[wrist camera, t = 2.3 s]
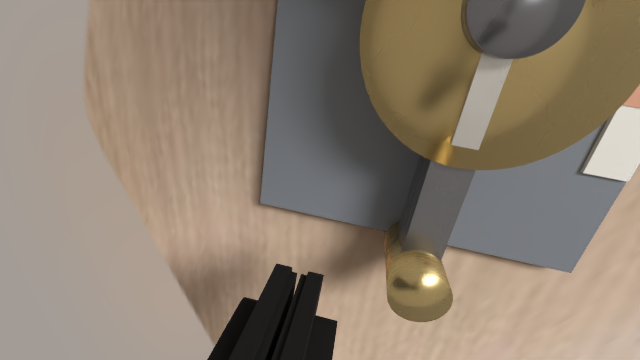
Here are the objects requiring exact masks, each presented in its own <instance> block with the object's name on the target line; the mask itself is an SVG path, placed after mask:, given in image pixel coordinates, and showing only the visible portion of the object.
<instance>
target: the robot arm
mask: <svg viewBox="0 0 640 360" xmlns="http://www.w3.org/2000/svg"><path fill="white" fill-rule="evenodd" d="M323 276H324V275H321V274H317V273H313V272H308V274H307V275H303V274H301V277H300V279H299V282H298V285H297V288H296V291H295V294H294V290H295V284H296V277H297V273H295V272H292V267H289V266H284V265H280V264H276V266H275V267H274V270H273V272H272V274H271V276H270V278H269V280H268V282H267V284H266V286H265V288H264V290H263V292H262V294H261V296H260V298H259V300H258V301H257V300H254V299H250V298H246V297H244V298H243V299H242V300H241V302H240V303H239V305H238V307H237V309H236V310H235V312H234V314H233V316H232V317H231V319H230V321H229V323H228V324H227V326H226V328H225V330H224V331H223V333H222V335H221V337H220V338H219V340H218V342H217V344H216V345H215V347H214V349H213V351H212V353H211V354H210V356H209V358H208V359H207V360H332V356H333V349H334V342H335V335H336V328H337V321H335V320H331V319H327V318H323V317H320V316H316V311H317V306H318V301H319V296H320V291H321V286H322V281H323ZM293 296H294V297H293Z"/></svg>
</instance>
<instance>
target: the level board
mask: <svg viewBox="0 0 640 360" xmlns="http://www.w3.org/2000/svg"><path fill="white" fill-rule="evenodd" d="M365 2H366V0H278V4H277V15H276V26H275V38H274V49H273V61H272V72H271V84H270V95H269V107H268V118H267V130H266V141H265V153H264V164H263V176H262V187H261V199H260V203H261V204H266V205H270V206H275V207H279V208H284V209H288V210H293V211H297V212H301V213H306V214H310V215H315V216H319V217H324V218H328V219H333V220H337V221H342V222H346V223H351V224H355V225H359V226H364V227H368V228H373V229H377V230H382V231H386V232H387V230H388V229H389V227H390V226H392V225H393V224H394V223H396V222H398V221H400V220H401V217H402V214H403V210H404V207H405V204H406V200H407V197H408V194H409V191H410V187H411V184H412V181H413V177H414V174H415V171H416V167H417V164H418V161H419V157H420V154H418V153H416V152H414V151H413V150H411V149H410V148H409V147H407V146H406V145H405V144H403V143H402V142H401V141H399V140H398V139H397V137H396V136H395V135H394V134H393V133H392V132H391V131H390V130H389V129H388V128H387V127H386V125H385V124H384V123H383V121H382V120H381V119H380V117H379V115H378V114H377V112H376V110H375V108H374V106H373V105H372V103H371V100H370V97H369V95H368V92H367V90H366V87H365V83H364V79H363V75H362V69H361V61H360V30H361V22H362V15H363V11H364V6H365ZM639 164H640V85H639V86H638V87H637V88H636V90H635V91H634V92H633V94H632V95H631V96H630V97H629V99H628V100H627V101H626V102H625V103H624V104H623V105H622V106H621V107H620V108H619V109H618V110H617V111H616V112H615V113H614V114H613V115H612V116H611V117H610V118H609V119H607V120H606V121H605V122H604V123H603V124H602V125H600V126H599V127H598V128H597V129H596V130H594V131H593V132H591V133H590V134H588V135H587V136H585V137H584V138H583V139H581V140H580V141H578V142H576V143H575V144H573V145H571V146H569V147H567V148H566V149H564V150H562V151H560V152H558V153H556V154H553V155H551V156H549V157H546V158H544V159H541V160H538V161H535V162H532V163H529V164H526V165H522V166H517V167H512V168H507V169H497V170H476V171H475V174H474V176H473V179H472V181H471V184H470V187H469V189H468V192H467V194H466V197H465V199H464V202H463V205H462V207H461V210H460V212H459V215H458V218H457V220H456V223H455V225H454V228H453V231H452V233H451V236H450V238H449V241H448V243H447V245H449V246H453V247H458V248H462V249H466V250H471V251H475V252H480V253H484V254H489V255H493V256H498V257H502V258H507V259H511V260H516V261H520V262H524V263H529V264H533V265H538V266H542V267H547V268H551V269H556V270H560V271H565V272H569V273H571V272H572V270H573V269H574V267H575V266H576V264H577V262H578V261H579V259H580V257H581V256H582V254H583V252H584V251H585V249H586V247H587V246H588V244H589V243H590V241H591V239H592V238H593V236H594V234H595V233H596V231H597V229H598V228H599V226H600V224H601V223H602V221H603V220H604V218H605V216H606V215H607V213H608V211H609V210H610V208H611V206H612V205H613V203H614V201H615V200H616V198H617V197H618V195H619V193H620V192H621V190H622V188H623V187H624V185H625V183H626V182H629V180H630V178H631V177H632V175H633V173H634V172H635V170H636V168H637V167H638V165H639Z"/></svg>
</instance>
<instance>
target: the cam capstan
mask: <svg viewBox="0 0 640 360" xmlns="http://www.w3.org/2000/svg"><path fill="white" fill-rule="evenodd" d="M360 61H361V69H362V75H363V79H364V83H365V87H366V90H367V92H368V95H369V97H370V100H371V103H372V105H373V106H374V108H375V110H376V112H377V114H378V115H379V117H380V119H381V120H382V121H383V123H384V124H385V125H386V127H387V128H388V129H389V130H390V131H391V132H392V133H393V134H394V135H395V136H396V137H397V139H398V140H399V141H401V142H402V143H403V144H405V145H406V146H407V147H409V148H410V149H411V150H413V151H414V152H416V153H418V154H420V157H419V161H418V164H417V167H416V171H415V174H414V177H413V181H412V184H411V187H410V191H409V194H408V197H407V200H406V204H405V207H404V210H403V214H402V217H401V220H400V221H398V222H396V223H394V224H393V225H392V226H390V227H389V229H388V230H387V232H386V234H385V237H384V244H385V263H386V283H387V299H388V303H389V305H390V307H391V309H392V310H393V311H394V312H395V313H396V314H397V315H399V316H400V317H402V318H404V319H407V320H410V321H415V322H428V321H432V320H436V319H438V318H440V317H442V316H443V315H444V314H445V313H447V312H448V310H449V309H450V307H451V305H452V301H453V295H452V291H451V288H450V285H449V282H448V279H447V276H446V273H445V270H444V267H443V264H442V261H441V259H442V256H443V254H444V251H445V249H446V246H447V243H448V241H449V238H450V236H451V233H452V231H453V228H454V225H455V223H456V220H457V218H458V215H459V212H460V210H461V207H462V205H463V202H464V199H465V197H466V194H467V192H468V189H469V187H470V184H471V181H472V179H473V176H474V174H475V171H476V170H497V169H507V168H512V167H517V166H522V165H526V164H529V163H532V162H535V161H538V160H541V159H544V158H546V157H549V156H551V155H553V154H556V153H558V152H560V151H562V150H564V149H566V148H567V147H569V146H571V145H573V144H575V143H576V142H578V141H580V140H581V139H583V138H584V137H585V136H587V135H588V134H590V133H591V132H593V131H594V130H596V129H597V128H598V127H599V126H600V125H602V124H603V123H604V122H605V121H606V120H607V119H609V118H610V117H611V116H612V115H613V114H614V113H615V112H616V111H617V110H618V109H619V108H620V107H621V106H622V105H623V104H624V103H625V102H626V101H627V100H628V99H629V97H630V96H631V95H632V94H633V92H634V91H635V90H636V88H637V87H638V86H639V85H640V0H366V2H365V6H364V11H363V15H362V22H361V30H360Z"/></svg>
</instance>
